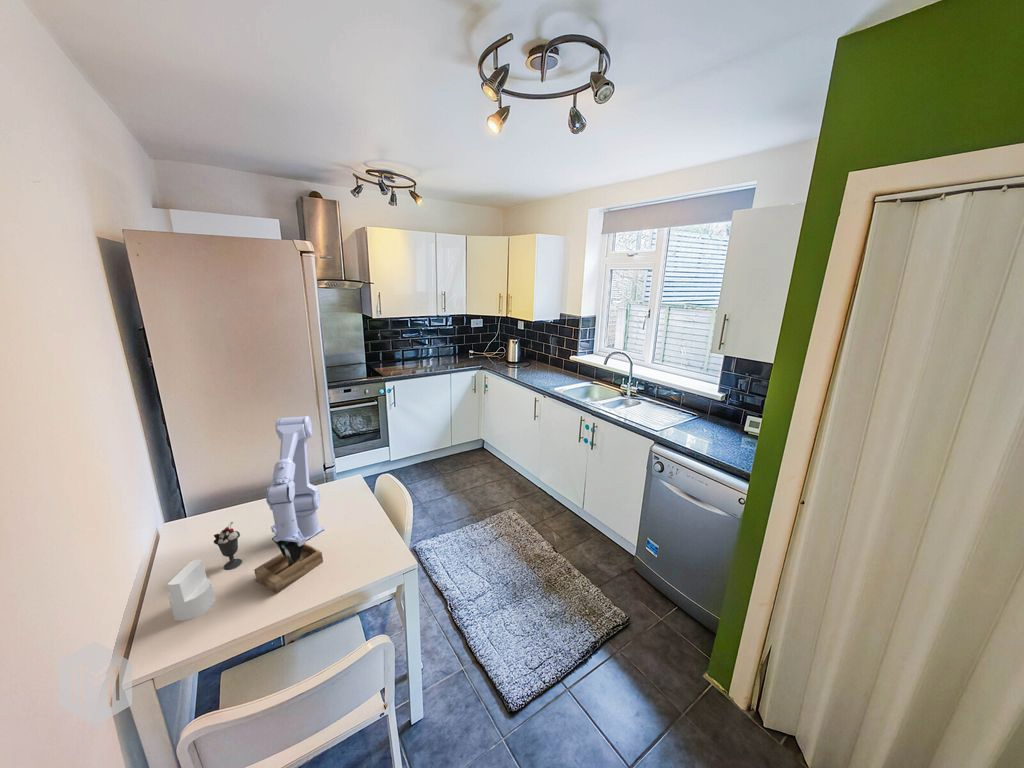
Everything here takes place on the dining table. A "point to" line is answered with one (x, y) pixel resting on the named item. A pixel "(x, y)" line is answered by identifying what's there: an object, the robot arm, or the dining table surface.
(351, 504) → the dining table surface
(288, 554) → the peg
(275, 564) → the keyhole board
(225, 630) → the dining table surface
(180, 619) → the base with upright slab
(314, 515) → the robot arm
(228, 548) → the sundae
